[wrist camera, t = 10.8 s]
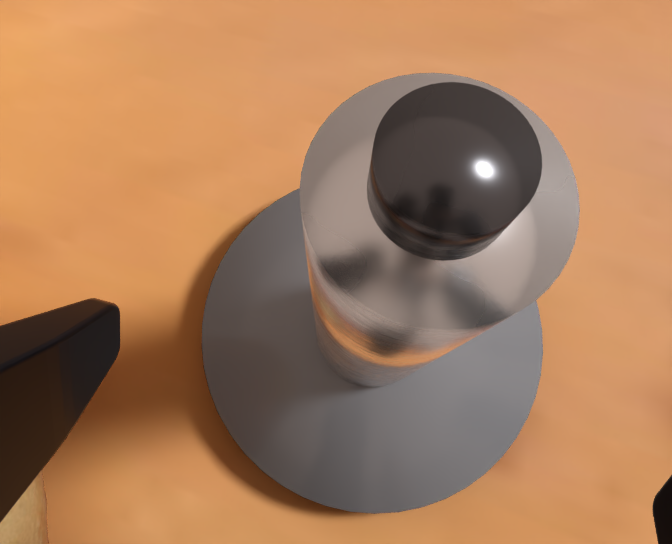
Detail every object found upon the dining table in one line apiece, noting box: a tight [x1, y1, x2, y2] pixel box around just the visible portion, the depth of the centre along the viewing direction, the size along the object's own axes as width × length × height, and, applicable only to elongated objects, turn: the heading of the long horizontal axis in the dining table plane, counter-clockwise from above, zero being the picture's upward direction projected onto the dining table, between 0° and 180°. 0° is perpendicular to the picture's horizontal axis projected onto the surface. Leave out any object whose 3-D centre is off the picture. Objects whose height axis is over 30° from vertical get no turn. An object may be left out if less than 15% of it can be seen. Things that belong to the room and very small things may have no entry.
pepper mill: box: [300, 73, 580, 387], centre depth 14 cm, size 5×5×14 cm
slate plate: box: [202, 189, 543, 514], centre depth 21 cm, size 14×14×1 cm
